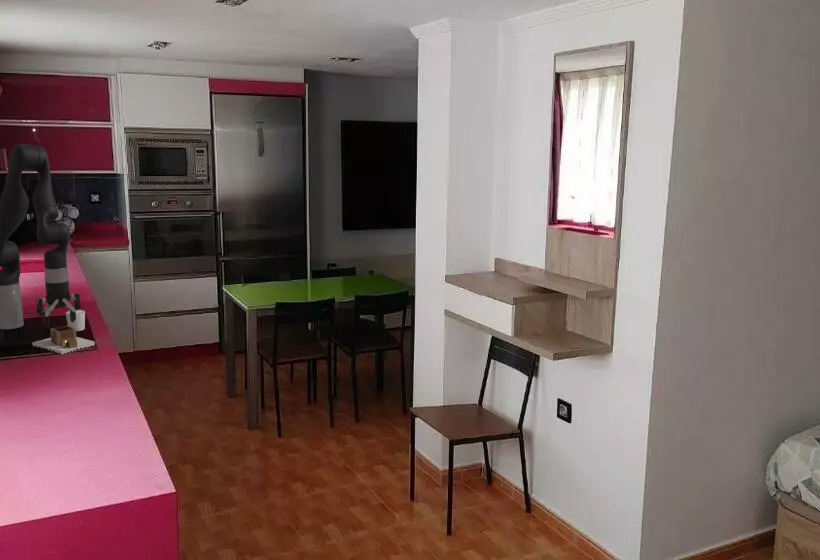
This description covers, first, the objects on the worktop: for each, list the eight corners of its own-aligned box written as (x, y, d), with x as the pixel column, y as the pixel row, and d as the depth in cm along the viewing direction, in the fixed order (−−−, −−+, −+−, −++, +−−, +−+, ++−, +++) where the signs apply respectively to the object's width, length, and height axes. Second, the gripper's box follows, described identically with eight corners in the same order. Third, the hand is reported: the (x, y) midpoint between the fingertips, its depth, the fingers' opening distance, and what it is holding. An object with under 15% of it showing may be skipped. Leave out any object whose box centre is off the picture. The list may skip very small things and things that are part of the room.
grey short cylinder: (79, 332, 278) (77, 314, 276) (63, 331, 279) (61, 313, 277) (90, 327, 284) (88, 310, 283) (74, 326, 286) (73, 308, 284)
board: (32, 345, 261) (32, 342, 261) (65, 336, 272) (65, 333, 271) (61, 354, 252) (61, 351, 252) (94, 344, 263) (94, 341, 263)
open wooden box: (51, 342, 262) (50, 328, 260) (69, 338, 266) (68, 325, 265) (64, 349, 254) (63, 335, 253) (83, 345, 258) (82, 332, 257)
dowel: (61, 347, 256) (60, 340, 255) (65, 346, 257) (65, 339, 257) (64, 348, 255) (63, 341, 255) (68, 347, 256) (67, 340, 256)
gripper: (73, 275, 264) (76, 318, 268) (31, 280, 254) (35, 325, 258) (81, 278, 259) (84, 322, 263) (39, 284, 249) (43, 330, 253)
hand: (60, 323), depth 260 cm, fingers open, 8 cm apart
